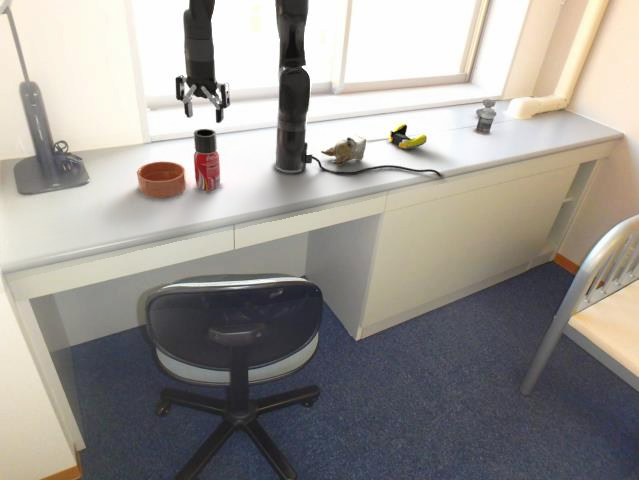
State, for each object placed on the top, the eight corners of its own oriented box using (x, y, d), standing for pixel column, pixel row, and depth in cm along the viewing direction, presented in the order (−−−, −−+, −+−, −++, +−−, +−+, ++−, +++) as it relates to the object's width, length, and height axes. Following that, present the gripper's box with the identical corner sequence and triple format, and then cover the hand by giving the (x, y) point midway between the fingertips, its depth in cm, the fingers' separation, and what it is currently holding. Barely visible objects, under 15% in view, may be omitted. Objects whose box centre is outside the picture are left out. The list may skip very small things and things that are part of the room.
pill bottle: (478, 128, 195) (484, 106, 189) (490, 132, 192) (498, 109, 187) (473, 131, 191) (480, 109, 185) (486, 135, 188) (493, 112, 183)
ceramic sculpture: (374, 140, 149) (335, 147, 143) (371, 163, 154) (333, 171, 148) (358, 129, 156) (320, 135, 151) (356, 151, 162) (319, 158, 156)
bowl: (182, 176, 135) (181, 159, 132) (189, 196, 126) (188, 179, 122) (138, 180, 130) (135, 163, 127) (141, 202, 121) (139, 184, 118)
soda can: (197, 180, 133) (194, 143, 127) (221, 181, 134) (220, 144, 127) (194, 192, 128) (191, 153, 121) (219, 193, 129) (217, 155, 122)
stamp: (483, 122, 202) (489, 104, 197) (472, 117, 207) (477, 99, 202) (496, 120, 207) (502, 102, 202) (485, 115, 211) (490, 97, 206)
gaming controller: (401, 135, 180) (382, 138, 175) (404, 122, 176) (384, 125, 172) (426, 149, 169) (406, 153, 165) (430, 136, 166) (409, 139, 162)
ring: (214, 144, 127) (213, 128, 125) (218, 152, 123) (217, 136, 120) (193, 145, 125) (192, 129, 122) (197, 154, 121) (196, 137, 118)
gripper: (233, 57, 112) (234, 119, 121) (181, 49, 114) (186, 110, 123) (220, 63, 106) (223, 128, 115) (166, 54, 108) (173, 119, 117)
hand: (204, 119), depth 119 cm, fingers open, 8 cm apart
